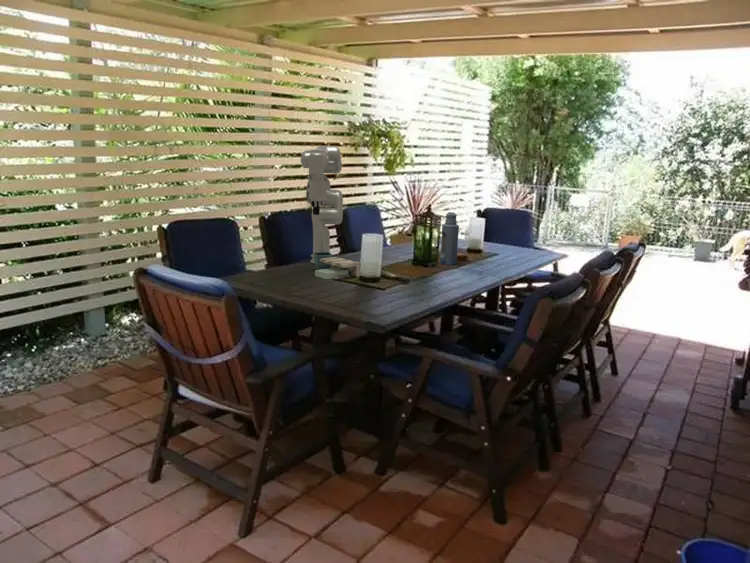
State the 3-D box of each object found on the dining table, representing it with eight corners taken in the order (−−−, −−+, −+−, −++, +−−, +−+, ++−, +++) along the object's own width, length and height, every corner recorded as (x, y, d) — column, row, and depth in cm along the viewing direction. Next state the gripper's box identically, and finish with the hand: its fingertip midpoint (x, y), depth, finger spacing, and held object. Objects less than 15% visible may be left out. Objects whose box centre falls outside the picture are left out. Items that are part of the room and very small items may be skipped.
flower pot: (316, 271, 313) (316, 255, 311) (313, 268, 322) (313, 252, 320) (332, 271, 316) (332, 254, 314) (328, 268, 324) (329, 252, 322)
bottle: (437, 262, 349) (439, 211, 343) (452, 261, 352) (455, 211, 346) (444, 265, 340) (446, 213, 334) (459, 264, 343) (462, 213, 337)
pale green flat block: (314, 276, 303) (314, 270, 302) (336, 272, 312) (336, 267, 311) (326, 279, 295) (326, 273, 295) (348, 276, 304) (348, 270, 303)
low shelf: (315, 273, 309) (315, 259, 307) (336, 270, 318) (336, 256, 316) (338, 280, 294) (338, 265, 293) (359, 276, 303) (359, 262, 301)
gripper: (308, 178, 289) (308, 216, 293) (332, 178, 298) (332, 214, 302) (299, 177, 294) (299, 214, 298) (323, 177, 304) (323, 213, 308)
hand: (316, 214), depth 300 cm, fingers closed
